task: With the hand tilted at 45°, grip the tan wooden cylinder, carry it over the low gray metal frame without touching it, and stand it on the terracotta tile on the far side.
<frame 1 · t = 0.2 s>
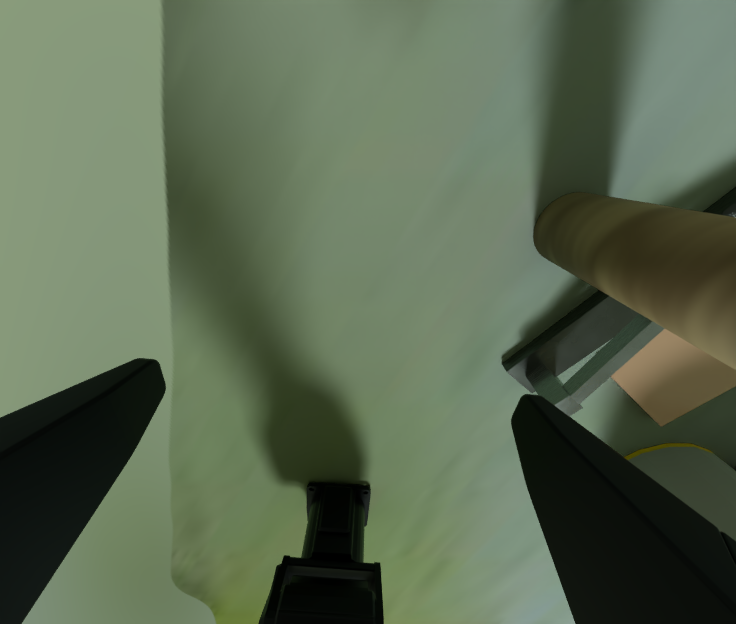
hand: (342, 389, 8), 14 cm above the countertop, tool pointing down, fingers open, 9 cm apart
gray metal frame: (629, 299, 22), on the countertop
terracotta tile: (679, 357, 24), on the countertop
tan wooden cylinder: (568, 228, 20), on the countertop
soap bottle: (652, 481, 31), on the countertop, touching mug
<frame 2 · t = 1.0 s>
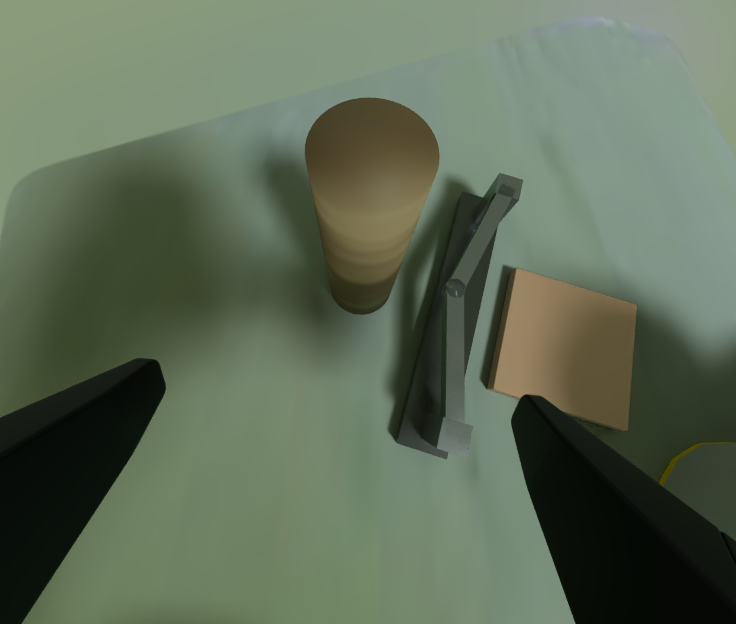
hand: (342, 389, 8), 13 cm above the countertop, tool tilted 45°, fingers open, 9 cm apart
gray metal frame: (459, 315, 22), on the countertop
terracotta tile: (559, 346, 22), on the countertop
tan wooden cylinder: (361, 285, 23), on the countertop
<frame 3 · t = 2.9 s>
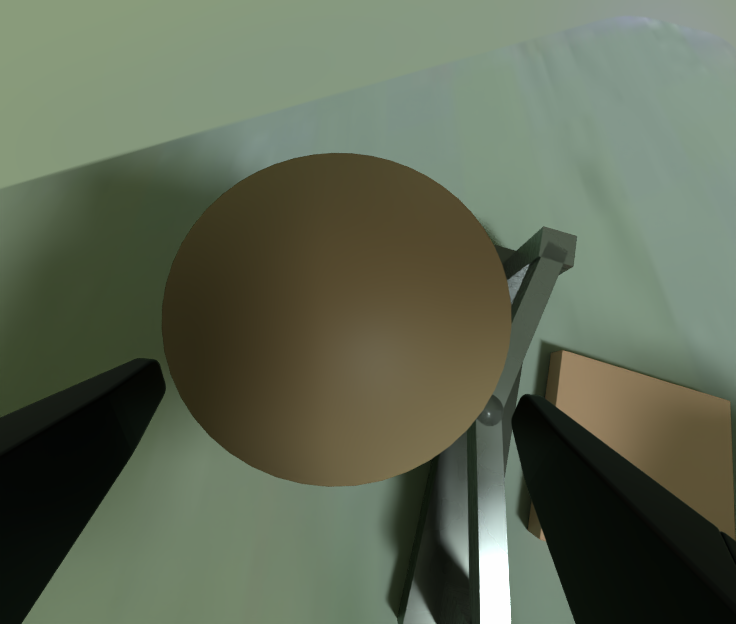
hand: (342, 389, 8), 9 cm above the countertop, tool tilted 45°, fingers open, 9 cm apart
gray metal frame: (484, 417, 16), on the countertop
terracotta tile: (624, 461, 16), on the countertop
tan wooden cylinder: (348, 374, 16), on the countertop
when the fingers open (9 cm above the countertop, at t = 9.6 s): tan wooden cylinder drops 1 cm, resting on terracotta tile.
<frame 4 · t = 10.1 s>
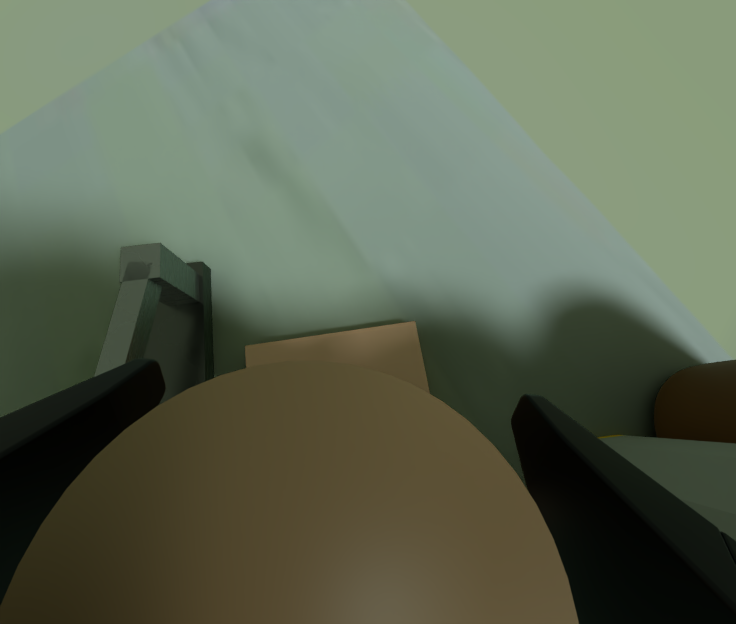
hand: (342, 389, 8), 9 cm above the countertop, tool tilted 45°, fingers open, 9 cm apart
gray metal frame: (195, 446, 15), on the countertop
terracotta tile: (344, 420, 16), on the countertop
tan wooden cylinder: (343, 423, 15), point 1 cm above the countertop, touching terracotta tile
soap bottle: (630, 557, 15), on the countertop, touching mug
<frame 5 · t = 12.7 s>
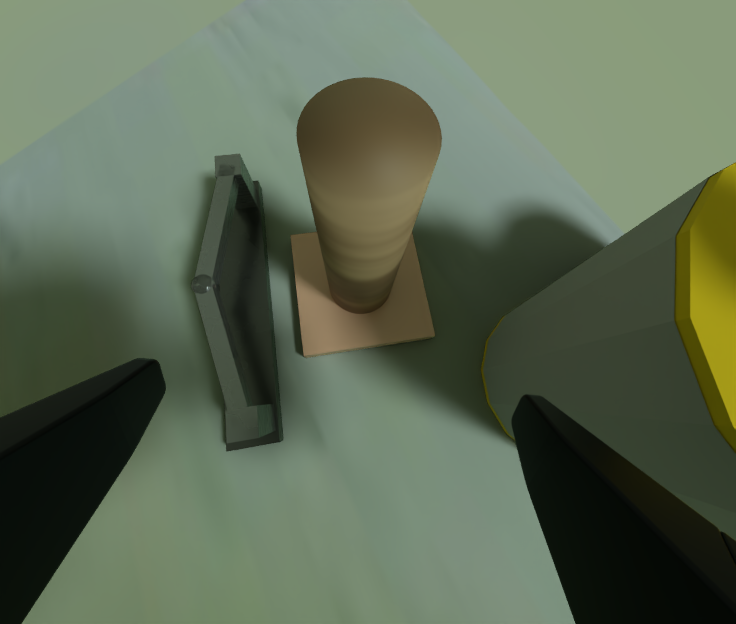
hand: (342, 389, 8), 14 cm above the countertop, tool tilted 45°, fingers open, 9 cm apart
gray metal frame: (257, 302, 22), on the countertop
terracotta tile: (360, 288, 23), on the countertop
tan wooden cylinder: (360, 284, 22), point 1 cm above the countertop, touching terracotta tile
soap bottle: (559, 377, 22), on the countertop, touching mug
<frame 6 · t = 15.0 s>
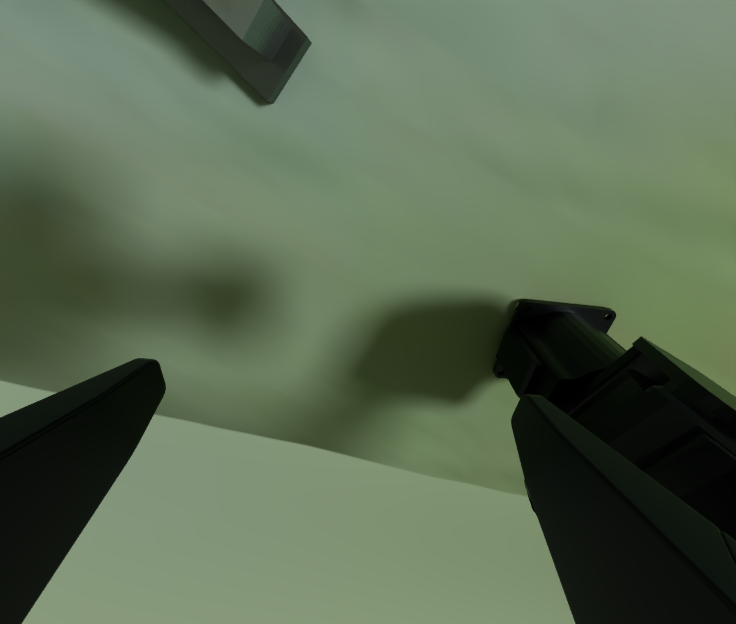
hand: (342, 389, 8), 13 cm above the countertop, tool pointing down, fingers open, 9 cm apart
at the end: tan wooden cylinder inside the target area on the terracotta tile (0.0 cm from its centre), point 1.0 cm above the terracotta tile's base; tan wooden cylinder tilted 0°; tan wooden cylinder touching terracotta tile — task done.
